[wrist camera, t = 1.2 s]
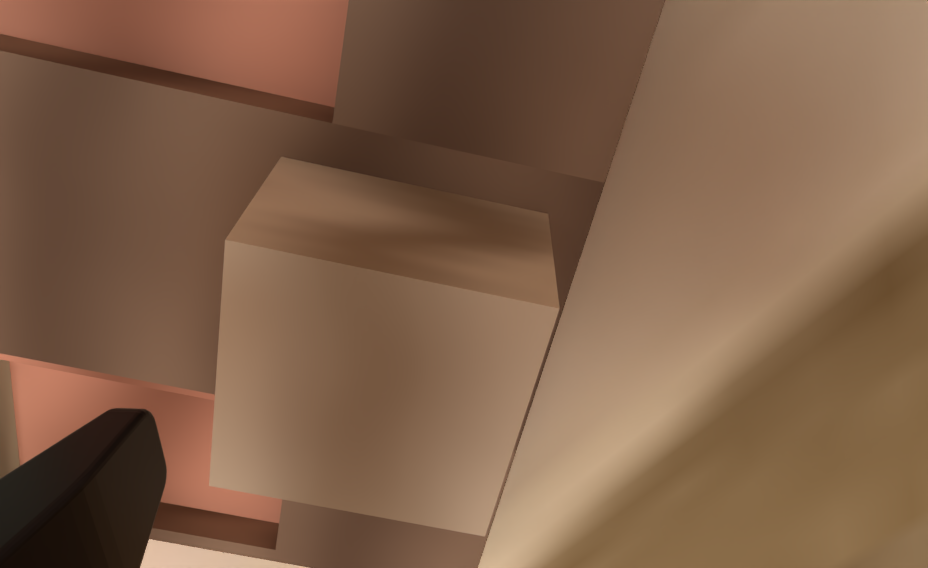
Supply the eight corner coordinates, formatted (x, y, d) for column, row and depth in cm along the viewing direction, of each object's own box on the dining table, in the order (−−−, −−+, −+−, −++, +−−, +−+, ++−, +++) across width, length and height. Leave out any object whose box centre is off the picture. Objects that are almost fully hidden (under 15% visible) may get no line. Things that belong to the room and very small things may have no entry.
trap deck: (687, -124, 15) (720, -116, 13) (469, 556, 25) (466, 629, 23) (-567, -437, 14) (-786, -492, 11) (-272, 421, 24) (-356, 486, 21)
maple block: (548, 213, 17) (560, 308, 14) (487, 416, 20) (485, 536, 17) (281, 156, 17) (225, 239, 14) (259, 372, 20) (209, 485, 17)
